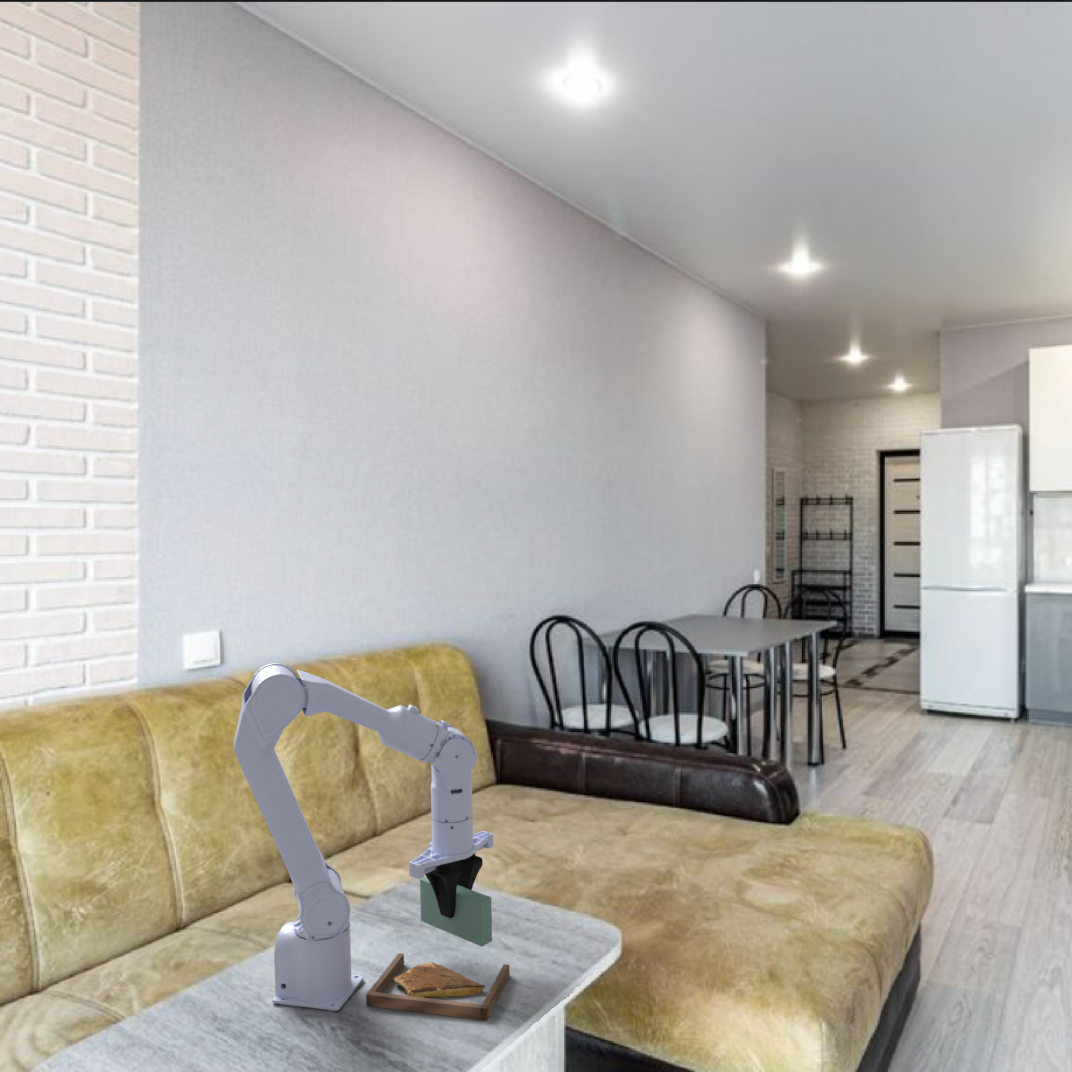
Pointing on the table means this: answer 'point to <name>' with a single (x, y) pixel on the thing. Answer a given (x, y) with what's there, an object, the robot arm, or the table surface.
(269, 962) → the table surface
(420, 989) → the shard
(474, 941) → the bar
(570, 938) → the table surface
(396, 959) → the walnut frame
